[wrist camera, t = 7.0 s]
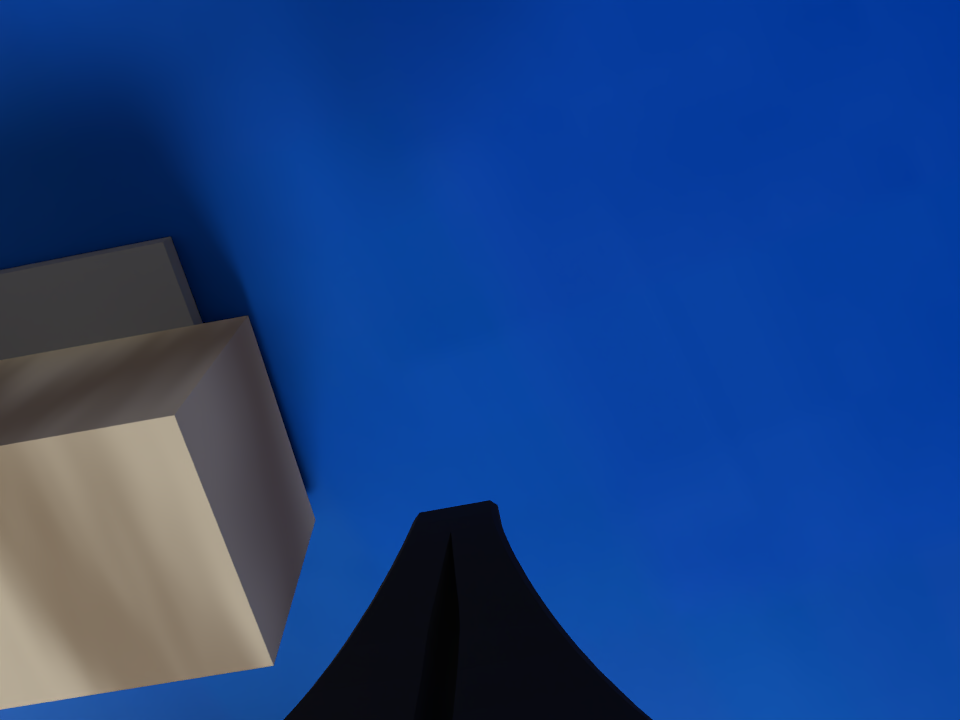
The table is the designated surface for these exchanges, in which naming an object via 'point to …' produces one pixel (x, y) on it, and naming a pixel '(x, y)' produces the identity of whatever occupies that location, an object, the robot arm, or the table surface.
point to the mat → (94, 298)
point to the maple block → (144, 514)
